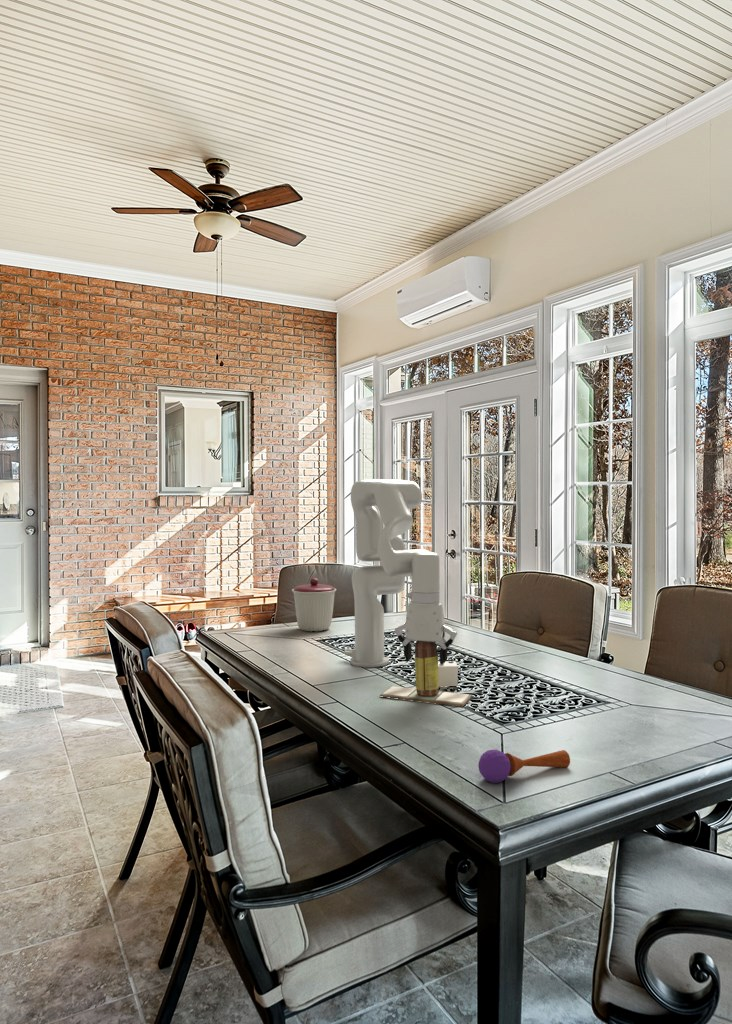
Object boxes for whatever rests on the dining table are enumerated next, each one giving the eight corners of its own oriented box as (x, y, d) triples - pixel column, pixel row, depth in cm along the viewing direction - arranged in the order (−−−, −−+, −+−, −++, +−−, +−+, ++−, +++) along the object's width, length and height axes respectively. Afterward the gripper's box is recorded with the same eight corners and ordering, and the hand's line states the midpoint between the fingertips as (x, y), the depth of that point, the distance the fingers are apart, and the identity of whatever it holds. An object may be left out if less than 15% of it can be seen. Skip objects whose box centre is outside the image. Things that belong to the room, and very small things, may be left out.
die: (436, 687, 197) (436, 665, 197) (435, 681, 203) (435, 660, 203) (457, 687, 197) (457, 665, 196) (455, 681, 203) (455, 660, 202)
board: (379, 697, 187) (379, 694, 187) (391, 688, 195) (391, 685, 195) (463, 706, 178) (463, 703, 178) (471, 697, 186) (471, 694, 186)
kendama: (577, 752, 136) (492, 761, 128) (571, 780, 137) (487, 790, 129) (557, 737, 141) (475, 744, 133) (552, 764, 142) (470, 773, 134)
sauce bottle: (441, 692, 188) (441, 619, 188) (435, 698, 182) (435, 623, 182) (418, 689, 190) (418, 618, 190) (411, 695, 185) (411, 621, 184)
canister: (318, 635, 270) (318, 581, 269) (283, 630, 280) (282, 578, 279) (345, 628, 285) (344, 577, 285) (310, 623, 295) (310, 574, 294)
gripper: (390, 598, 186) (390, 661, 186) (453, 602, 179) (453, 667, 179) (399, 594, 193) (399, 655, 193) (460, 597, 186) (460, 661, 186)
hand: (425, 661), depth 186 cm, fingers open, 9 cm apart
